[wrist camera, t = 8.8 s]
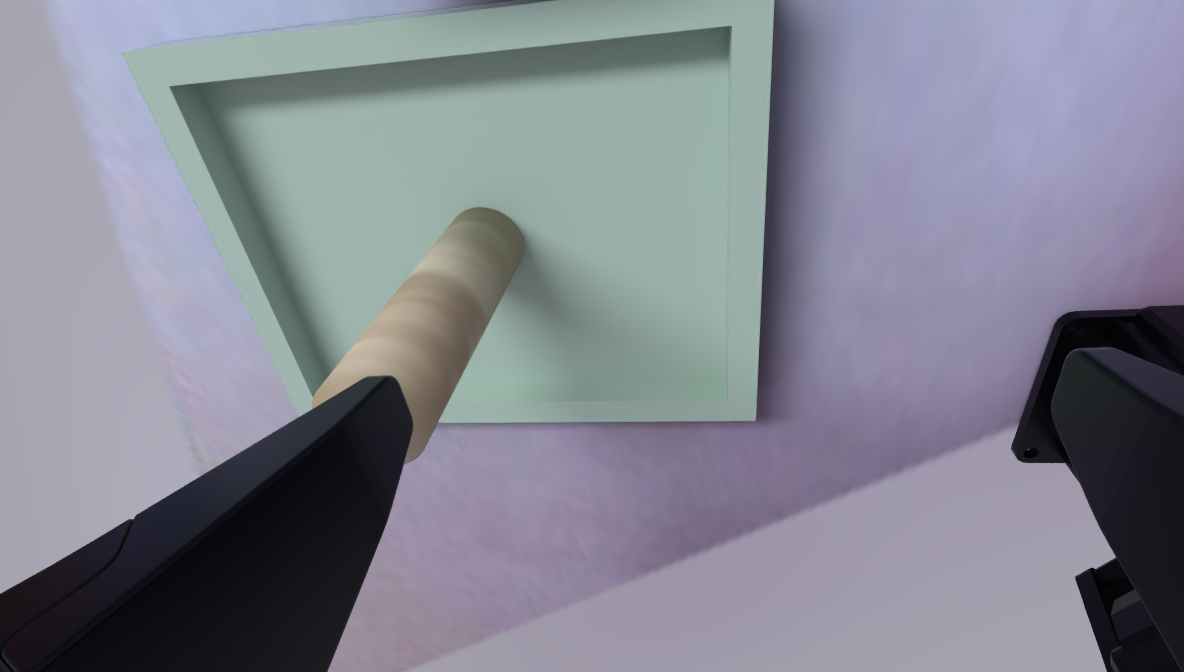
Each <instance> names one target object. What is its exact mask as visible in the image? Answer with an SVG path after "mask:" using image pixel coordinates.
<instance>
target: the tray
mask: <svg viewBox="0 0 1184 672" xmlns="http://www.w3.org/2000/svg"><path fill="white" fill-rule="evenodd" d="M773 20H774V0H514V1H506V2H497V3H489V4H481V5H473V6H464V7H456V8H448V9H439V10H431V11H423V12H415V13H406V14H398V15H390V16H382V17H373V18H365V19H357V20H348V21H340V22H332V23H324V24H315V25H307V26H299V27H290V28H282V29H274V30H266V31H257V32H249V33H241V34H233V35H224V36H216V37H208V38H199V39H191V40H183V41H175V42H166V43H161V44H157V45H152V46H148V47H143V48H139V49H134V50H130V51H126V52H121V54H122V56H123V58H124V60H125V62H126V64H127V66H128V68H129V70H130V72H131V74H132V76H133V78H134V80H135V82H136V84H137V86H138V88H139V90H140V92H141V94H142V96H143V99H144V101H145V103H146V105H147V107H148V109H149V111H150V113H151V115H152V117H153V119H154V121H155V123H156V125H157V127H158V129H159V131H160V133H161V135H162V137H163V139H164V141H165V144H166V146H167V148H168V150H169V152H170V154H171V156H172V158H173V160H174V162H175V164H176V166H177V168H178V170H179V172H180V174H181V176H182V178H183V180H184V182H185V184H186V186H187V188H188V191H189V193H190V195H191V197H192V199H193V201H194V203H195V205H196V207H197V209H198V211H199V213H200V215H201V217H202V219H203V221H204V223H205V225H206V227H207V229H208V231H209V233H210V236H211V238H212V240H213V242H214V244H215V246H216V248H217V250H218V252H219V254H220V256H221V258H222V260H223V262H224V264H225V266H226V268H227V270H228V272H229V274H230V276H231V278H232V281H233V283H234V285H235V287H236V289H237V291H238V293H239V295H240V297H241V299H242V301H243V303H244V305H245V307H246V309H247V311H248V313H249V315H250V317H251V319H252V321H253V323H254V326H255V328H256V330H257V332H258V334H259V336H260V338H261V340H262V342H263V344H264V346H265V348H266V350H267V352H268V354H269V356H270V358H271V360H272V362H273V364H274V366H275V368H276V370H277V373H278V375H279V377H280V379H281V381H282V383H283V385H284V387H285V389H286V391H287V393H288V395H289V397H290V399H291V401H292V403H293V405H294V407H295V409H296V411H297V413H298V415H299V417H300V416H302V415H303V414H305V413H307V412H308V411H310V410H312V400H313V397H314V395H315V393H316V391H317V390H318V389H319V387H320V386H321V385H322V384H323V382H324V381H325V380H326V379H327V378H328V376H329V375H330V374H331V373H332V371H333V370H334V369H335V368H336V366H337V365H338V364H339V363H340V361H341V360H342V359H343V358H344V356H345V355H346V354H347V353H348V351H349V350H350V349H351V348H352V346H353V345H354V344H355V343H356V341H357V340H358V339H359V338H360V336H361V335H362V334H363V333H364V331H365V330H366V329H367V328H368V326H369V325H370V324H371V323H372V321H373V320H374V319H375V318H376V316H377V315H378V314H379V313H380V311H381V310H382V309H383V308H384V306H385V305H386V304H387V303H388V301H389V300H390V299H391V298H392V296H393V295H394V294H395V293H396V291H397V290H398V289H399V288H400V286H401V285H402V284H403V283H404V281H405V280H406V279H407V278H408V276H409V275H410V274H411V273H412V272H413V270H414V269H415V268H416V267H417V265H418V264H419V263H420V262H421V260H422V259H423V258H424V257H425V255H426V254H427V253H428V252H429V250H430V249H431V248H432V247H433V245H434V244H435V243H436V242H437V240H438V239H439V238H440V237H441V235H442V234H443V233H444V232H445V230H446V229H447V228H448V227H449V225H450V224H451V223H452V222H453V220H454V219H455V218H456V217H457V216H458V215H459V214H460V213H462V212H463V211H465V210H467V209H470V208H475V207H485V208H490V209H494V210H496V211H499V212H501V213H502V214H504V215H505V216H507V217H508V218H509V219H510V220H511V221H512V222H513V223H514V224H515V225H516V227H517V228H518V230H519V231H520V233H521V236H522V239H523V244H524V252H523V257H522V260H521V262H520V264H519V266H518V267H517V269H516V271H515V273H514V275H513V277H512V279H511V281H510V283H509V285H508V287H507V289H506V291H505V293H504V295H503V297H502V299H501V301H500V303H499V304H498V306H497V308H496V310H495V312H494V314H493V316H492V318H491V320H490V322H489V324H488V326H487V328H486V330H485V332H484V334H483V336H482V338H481V340H480V341H479V343H478V345H477V347H476V349H475V351H474V353H473V355H472V357H471V359H470V361H469V363H468V365H467V367H466V369H465V371H464V373H463V375H462V376H461V378H460V380H459V382H458V384H457V386H456V388H455V390H454V392H453V394H452V396H451V398H450V400H449V402H448V404H447V406H446V408H445V410H444V412H443V413H442V415H441V417H440V419H439V421H438V423H516V422H670V421H756V405H757V383H758V360H759V337H760V315H761V292H762V269H763V247H764V224H765V201H766V179H767V156H768V133H769V111H770V88H771V65H772V43H773Z"/></svg>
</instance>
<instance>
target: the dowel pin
mask: <svg viewBox="0 0 1184 672" xmlns="http://www.w3.org/2000/svg"><path fill="white" fill-rule="evenodd" d="M523 252H524V244H523V239H522V236H521V233H520V231H519V230H518V228H517V227H516V225H515V224H514V223H513V222H512V221H511V220H510V219H509V218H508V217H507V216H505V215H504V214H502V213H501V212H499V211H496V210H494V209H490V208H485V207H475V208H470V209H467V210H465V211H463V212H462V213H460V214H459V215H458V216H457V217H456V218H455V219H454V220H453V222H452V223H451V224H450V225H449V227H448V228H447V229H446V230H445V232H444V233H443V234H442V235H441V237H440V238H439V239H438V240H437V242H436V243H435V244H434V245H433V247H432V248H431V249H430V250H429V252H428V253H427V254H426V255H425V257H424V258H423V259H422V260H421V262H420V263H419V264H418V265H417V267H416V268H415V269H414V270H413V272H412V273H411V274H410V275H409V276H408V278H407V279H406V280H405V281H404V283H403V284H402V285H401V286H400V288H399V289H398V290H397V291H396V293H395V294H394V295H393V296H392V298H391V299H390V300H389V301H388V303H387V304H386V305H385V306H384V308H383V309H382V310H381V311H380V313H379V314H378V315H377V316H376V318H375V319H374V320H373V321H372V323H371V324H370V325H369V326H368V328H367V329H366V330H365V331H364V333H363V334H362V335H361V336H360V338H359V339H358V340H357V341H356V343H355V344H354V345H353V346H352V348H351V349H350V350H349V351H348V353H347V354H346V355H345V356H344V358H343V359H342V360H341V361H340V363H339V364H338V365H337V366H336V368H335V369H334V370H333V371H332V373H331V374H330V375H329V376H328V378H327V379H326V380H325V381H324V382H323V384H322V385H321V386H320V387H319V389H318V390H317V391H316V393H315V395H314V397H313V400H312V409H313V408H315V407H316V406H318V405H320V404H321V403H323V402H325V401H326V400H328V399H330V398H331V397H333V396H335V395H336V394H338V393H340V392H341V391H343V390H345V389H346V388H348V387H350V386H351V385H353V384H355V383H356V382H358V381H360V380H361V379H363V378H365V377H368V376H381V375H391V376H393V377H395V378H396V379H397V380H398V382H399V384H400V386H401V389H402V392H403V394H404V397H405V399H406V402H407V404H408V407H409V410H410V412H411V415H412V418H413V433H412V437H411V440H410V444H409V447H408V451H407V455H406V458H405V462H404V464H406V463H409V462H411V461H413V460H415V459H416V458H417V457H418V456H420V455H421V453H422V452H423V450H424V449H425V447H426V445H427V443H428V441H429V439H430V437H431V435H432V433H433V431H434V429H435V427H436V425H437V423H438V421H439V419H440V417H441V415H442V413H443V412H444V410H445V408H446V406H447V404H448V402H449V400H450V398H451V396H452V394H453V392H454V390H455V388H456V386H457V384H458V382H459V380H460V378H461V376H462V375H463V373H464V371H465V369H466V367H467V365H468V363H469V361H470V359H471V357H472V355H473V353H474V351H475V349H476V347H477V345H478V343H479V341H480V340H481V338H482V336H483V334H484V332H485V330H486V328H487V326H488V324H489V322H490V320H491V318H492V316H493V314H494V312H495V310H496V308H497V306H498V304H499V303H500V301H501V299H502V297H503V295H504V293H505V291H506V289H507V287H508V285H509V283H510V281H511V279H512V277H513V275H514V273H515V271H516V269H517V267H518V266H519V264H520V262H521V260H522V257H523Z"/></svg>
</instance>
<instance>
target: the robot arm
mask: <svg viewBox="0 0 1184 672" xmlns="http://www.w3.org/2000/svg"><path fill="white" fill-rule="evenodd" d="M1077 324H1079V326H1078V327H1077V328H1075V329H1074V330H1070V329H1071V327H1073V326H1074V325H1077ZM412 433H413V418H412V415H411V412H410V410H409V407H408V404H407V402H406V399H405V397H404V394H403V392H402V389H401V386H400V384H399V382H398V380H397V379H396V378H395V377H393V376H391V375H381V376H368V377H365V378H363V379H361V380H360V381H358V382H356V383H355V384H353V385H351V386H350V387H348V388H346V389H345V390H343V391H341V392H340V393H338V394H336V395H335V396H333V397H331V398H330V399H328V400H326V401H325V402H323V403H321V404H320V405H318V406H316V407H315V408H313V409H312V410H310V411H308V412H307V413H305V414H303V415H302V416H300V417H298V418H297V419H295V420H293V421H292V422H290V423H288V424H287V425H285V426H283V427H282V428H280V429H278V430H277V431H275V432H273V433H272V434H270V435H268V436H267V437H265V438H263V439H262V440H260V441H258V442H257V443H255V444H253V445H252V446H250V447H248V448H247V449H245V450H243V451H242V452H240V453H238V454H237V455H235V456H234V457H232V458H230V459H229V460H227V461H225V462H224V463H222V464H220V465H219V466H217V467H215V468H214V469H212V470H210V471H209V472H207V473H205V474H204V475H202V476H200V477H199V478H197V479H195V480H194V481H192V482H190V483H189V484H187V485H185V486H184V487H182V488H180V489H179V490H177V491H175V492H174V493H172V494H170V495H169V496H167V497H166V498H164V499H162V500H160V501H159V502H157V503H156V504H154V505H152V506H151V507H149V508H148V509H146V510H144V511H142V512H141V513H139V514H137V515H136V516H135V518H134V520H133V519H129V520H127V521H125V522H124V523H122V524H120V525H119V526H117V527H115V528H114V529H112V530H110V531H109V532H107V533H106V534H104V535H102V536H101V537H99V538H97V539H95V540H94V541H92V542H90V543H89V544H87V545H85V546H84V547H82V548H80V549H78V550H77V551H75V552H73V553H72V554H70V555H68V556H66V557H65V558H63V559H61V560H60V561H58V562H56V563H55V564H53V565H51V566H49V567H47V568H46V569H44V570H42V571H40V572H38V573H37V574H35V575H33V576H31V577H29V578H28V579H26V580H24V581H22V582H21V583H19V584H17V585H15V586H13V587H12V588H10V589H8V590H6V591H4V592H3V593H1V594H0V672H328V669H329V667H330V664H331V662H332V659H333V657H334V654H335V652H336V649H337V647H338V644H339V642H340V639H341V637H342V634H343V632H344V629H345V627H346V624H347V622H348V619H349V617H350V614H351V612H352V609H353V607H354V604H355V602H356V599H357V597H358V594H359V592H360V589H361V587H362V584H363V582H364V579H365V577H366V574H367V572H368V569H369V567H370V564H371V562H372V559H373V557H374V554H375V552H376V549H377V547H378V544H379V542H380V539H381V537H382V534H383V531H384V529H385V526H386V523H387V521H388V517H389V514H390V511H391V508H392V505H393V501H394V498H395V494H396V490H397V487H398V483H399V480H400V476H401V472H402V469H403V465H404V462H405V458H406V455H407V451H408V447H409V444H410V440H411V437H412ZM1028 449H1029V450H1028ZM1011 450H1012V451H1013V453H1014V454H1015V456H1016V457H1017V459H1018V460H1019V461H1021V462H1025V463H1066V465H1067V466H1068V467H1069V469H1070V470H1071V472H1072V473H1073V474H1074V476H1075V477H1076V479H1077V480H1078V481H1079V483H1080V484H1081V487H1082V489H1083V491H1084V494H1085V496H1086V498H1087V501H1088V503H1089V505H1090V508H1091V510H1092V512H1093V514H1094V516H1095V518H1096V520H1097V522H1098V525H1099V527H1100V529H1101V530H1102V532H1103V534H1104V536H1105V538H1106V540H1107V542H1108V543H1109V545H1110V547H1111V549H1112V550H1113V552H1114V554H1115V556H1116V558H1114V559H1113V560H1111V561H1109V562H1107V563H1105V564H1104V565H1102V566H1100V567H1098V568H1097V569H1094V568H1090V569H1088V570H1086V571H1084V572H1083V573H1081V574H1079V575H1077V576H1076V577H1075V579H1076V582H1077V585H1078V588H1079V591H1080V594H1081V597H1082V599H1083V603H1084V606H1085V609H1086V612H1087V615H1088V618H1089V620H1090V623H1091V626H1092V629H1093V632H1094V635H1095V638H1096V641H1097V643H1098V646H1099V649H1100V652H1101V655H1102V658H1103V661H1104V664H1105V667H1106V670H1107V672H1184V305H1175V306H1149V307H1146V308H1142V309H1128V310H1096V311H1074V312H1069V313H1067V314H1064V315H1062V316H1061V317H1060V318H1059V319H1058V320H1057V321H1056V323H1055V325H1054V327H1053V330H1052V333H1051V336H1050V339H1049V342H1048V344H1047V347H1046V350H1045V353H1044V356H1043V359H1042V361H1041V364H1040V367H1039V370H1038V373H1037V375H1036V378H1035V381H1034V384H1033V387H1032V390H1031V392H1030V395H1029V398H1028V401H1027V404H1026V406H1025V409H1024V412H1023V415H1022V418H1021V421H1020V423H1019V426H1018V429H1017V432H1016V435H1015V438H1014V440H1013V443H1012V447H1011Z"/></svg>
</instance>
